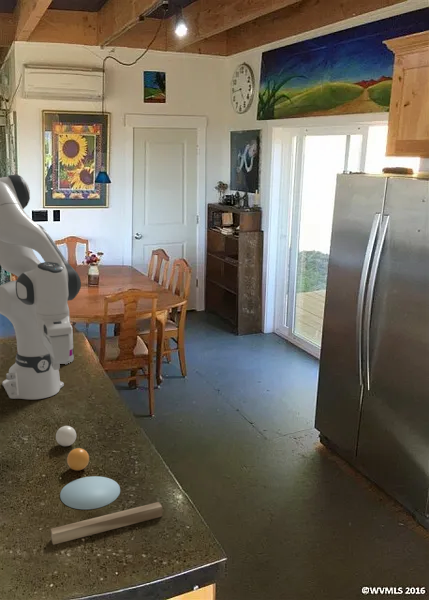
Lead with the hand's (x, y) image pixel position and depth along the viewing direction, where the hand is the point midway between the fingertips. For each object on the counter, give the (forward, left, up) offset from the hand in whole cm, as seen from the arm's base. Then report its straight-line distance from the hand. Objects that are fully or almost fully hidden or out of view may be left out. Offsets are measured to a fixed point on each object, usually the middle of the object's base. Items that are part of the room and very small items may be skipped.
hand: (55, 368), depth 169 cm
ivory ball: (+10, -2, -16) cm, 19 cm away
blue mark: (+35, -9, -19) cm, 41 cm away
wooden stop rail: (+50, -12, -19) cm, 55 cm away
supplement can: (-53, +27, -19) cm, 62 cm away
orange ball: (+23, -6, -16) cm, 29 cm away
